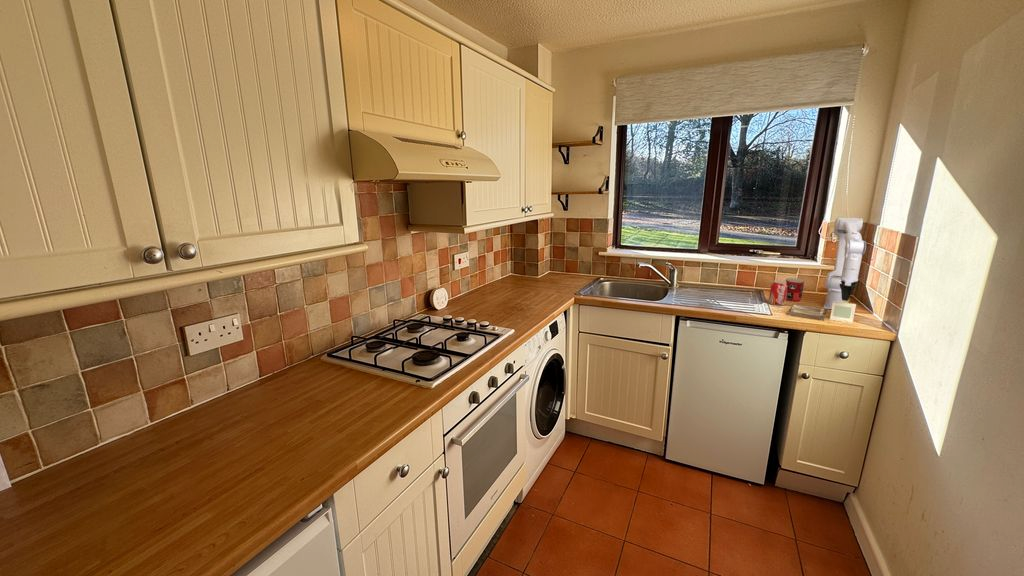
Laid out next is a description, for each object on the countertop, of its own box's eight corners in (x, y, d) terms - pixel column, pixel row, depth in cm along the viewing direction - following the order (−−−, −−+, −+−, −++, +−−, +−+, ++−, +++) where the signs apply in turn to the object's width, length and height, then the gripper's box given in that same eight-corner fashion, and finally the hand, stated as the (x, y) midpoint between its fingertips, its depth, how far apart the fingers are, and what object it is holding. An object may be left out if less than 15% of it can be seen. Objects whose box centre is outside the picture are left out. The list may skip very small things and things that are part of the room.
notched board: (793, 305, 209) (793, 300, 209) (827, 310, 200) (828, 305, 200) (786, 314, 194) (787, 309, 194) (823, 320, 186) (824, 315, 185)
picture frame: (830, 317, 191) (833, 300, 189) (852, 320, 186) (856, 303, 184) (829, 320, 187) (832, 303, 185) (852, 323, 182) (855, 306, 180)
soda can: (771, 306, 209) (774, 283, 206) (766, 302, 215) (769, 279, 212) (787, 306, 207) (790, 283, 204) (781, 303, 214) (785, 280, 211)
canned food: (779, 298, 223) (782, 278, 221) (795, 298, 223) (798, 278, 220) (788, 301, 216) (791, 281, 213) (804, 301, 215) (807, 281, 213)
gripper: (840, 265, 188) (835, 293, 192) (838, 269, 178) (832, 300, 181) (860, 266, 184) (854, 296, 187) (859, 272, 173) (853, 303, 177)
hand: (845, 298), depth 184 cm, fingers open, 7 cm apart
